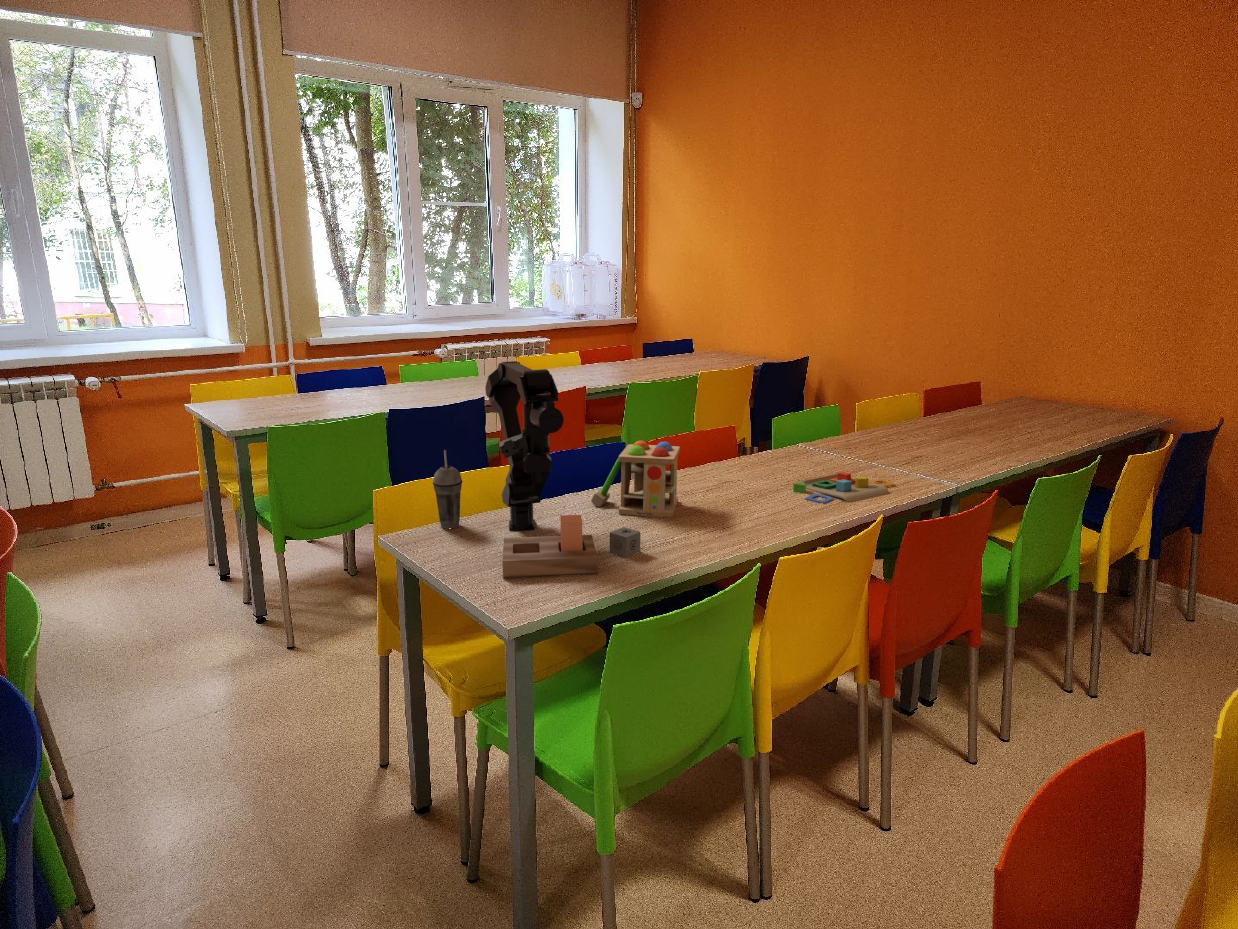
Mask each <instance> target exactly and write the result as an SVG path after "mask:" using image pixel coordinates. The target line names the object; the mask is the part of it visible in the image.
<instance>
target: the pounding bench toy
mask: <svg viewBox="0 0 1238 929" xmlns="http://www.w3.org/2000/svg"><path fill="white" fill-rule="evenodd" d="M680 451H681V447H680V446H679V445H678V446H675V445H671V443H669V442H668V441H660V442H659V443H658V444H657V445H656V444H654V445H653V444H648V443H647V442H646V441H644V440H637V441H635V442H634V443H633V444H632V443H629V444H627V445H626V447H625V448H624V449H623V450H622V451H621V452H620V454H618V458H617V459H616V461H615V463H614V465H613V466H612V469H611V470H610V472H609V474H608V476H607V478H606V480H605V482H604V484H603V486H602V488H599V490H597V491H596V492H595V493H593V496H592V498H591V500H590V502H591V503H592V504H593V505H594V506H596V507H599V508H600V507H602V506H603V505H604V504H605V503H607V502H608V499H609V498H610V496H611V493H609V490H610V488H611V486H612V484H613V482H614V481H615V478H616V477H617V475H618V473H619V471H620V469H621V471H620V472H621V473H620V474H621V475H620V506H618V507H619V508H618V515H628V516H638V515H643V516H642V517H652V516H660V517H659V518H667V517H672V518H673V516H674V514H675V510H676V508H677V506H676V505H678V502H679V500H678V499H679V496H678V495H677V494H678V493H677V489H678V486H677V485H678V456H679V455H680ZM632 463H634V464H632ZM667 465H669V470H667ZM632 473H633V474H634V475H633V477H634V478H633V492H630V484H631V478H632ZM666 494H668V495H666Z"/></svg>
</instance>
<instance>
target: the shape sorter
mask: <svg viewBox="0 0 1238 929" xmlns="http://www.w3.org/2000/svg"><path fill="white" fill-rule="evenodd" d="M876 482H884V483H883V484H882V483H876ZM885 483H887V484H885ZM896 485H897V484H896V483H894V482H892V481H889V480H887V479H885V478H882V479H881V478H880V479H872V480H869V477H868V476H863V475H860V476H856V477H855V478H852V473H848V472H843V471H842V472H836V473H834V474H833V473H832V474H829V475H823V476H818V477H814V478H810V479H809V478H808V479H804V480H802V481H800V482H794V483H793V486H792V488H793V489H792V492H793V493H797V492H800V493H799V494H804V493H805V494H806V490H808V489H809V491H811V492H815V491H816V492H815V493H813V494H812V495H809V496H806V497H804V501H808V502H813V503H816V504H820V503H823V504H822V505H824V504H827V503H830V502H832V501H834V500H835V498H840V499H842V500H844V502H846V503H854V502H856V501H857V502H858V501H861V500H866V499H870V498H869V497H871V498H875V497H879V496H884V495H887V493H888V494H889V489H888V488H889V487H888V486H895V487H897V486H896ZM818 492H819V493H818ZM815 497H816V498H815ZM819 497H822V498H821V499H822V500H821V499H817V498H819ZM834 497H835V498H834ZM813 498H814V499H813ZM823 498H825V499H823Z"/></svg>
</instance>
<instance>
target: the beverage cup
mask: <svg viewBox="0 0 1238 929" xmlns="http://www.w3.org/2000/svg"><path fill="white" fill-rule="evenodd" d="M443 456H444V457H443V458H444V466H441V467H439V468H438V469H437V470H436V472H434V475H433V480H432V485H433V490H434V492H435V500H436V505H437V512H438V517H439V522H440V524H439V525H440V528H441V529H443V528H445V529H444V530H450V529H449V528H455V529H457V527H458V528H459V527H460V519H461V492H462V487H463V486H462V485H463V479H462V475H461V473H460V472H459V470H458V469H457V468H455V467H453V466H451V465H448V460H447V458H448V457H447V450H446V449H444V450H443Z"/></svg>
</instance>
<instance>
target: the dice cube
mask: <svg viewBox="0 0 1238 929" xmlns="http://www.w3.org/2000/svg"><path fill="white" fill-rule="evenodd" d="M610 552H611V553H610ZM637 552H639V553H641V530H636V529H633V528H629V527H625V526H622V527H619V528H617V529H615V530H612V531H610V532H609V553H610V554H612V553H614V554H613V555H616V554H617V555H616V556H619V557H622V558H626V559H627V558H629V557H631V555H632V556H634V555H636V554H638V553H637ZM635 553H636V554H635ZM633 554H634V555H633Z"/></svg>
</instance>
